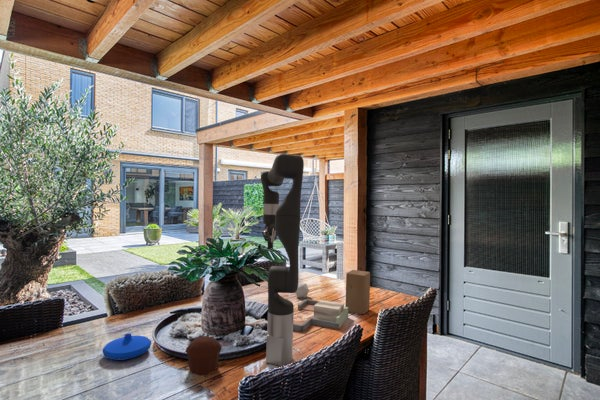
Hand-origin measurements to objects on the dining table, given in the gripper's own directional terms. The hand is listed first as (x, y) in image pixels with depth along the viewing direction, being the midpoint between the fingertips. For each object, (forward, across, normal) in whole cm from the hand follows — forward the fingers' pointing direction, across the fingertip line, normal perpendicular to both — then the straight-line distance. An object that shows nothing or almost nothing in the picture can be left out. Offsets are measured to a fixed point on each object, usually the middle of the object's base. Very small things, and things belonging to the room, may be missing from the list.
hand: (270, 250), depth 157 cm
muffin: (+33, -49, -2) cm, 59 cm away
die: (+33, +40, 0) cm, 52 cm away
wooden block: (+33, +32, -35) cm, 58 cm away
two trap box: (+33, +12, -20) cm, 40 cm away
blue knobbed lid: (+33, -53, +29) cm, 69 cm away
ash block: (+33, +13, -26) cm, 44 cm away
